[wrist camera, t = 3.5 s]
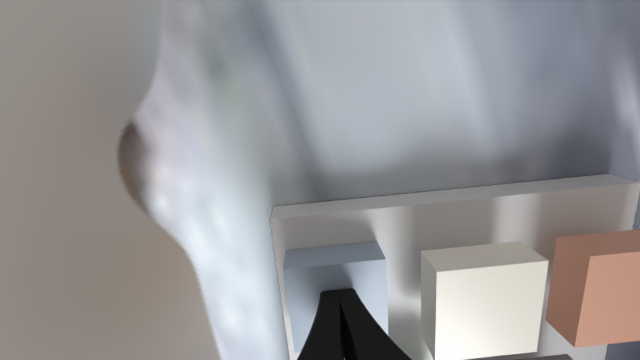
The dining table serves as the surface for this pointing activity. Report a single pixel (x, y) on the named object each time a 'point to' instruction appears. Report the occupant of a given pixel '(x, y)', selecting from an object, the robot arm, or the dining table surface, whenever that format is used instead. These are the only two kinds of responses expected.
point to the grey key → (549, 357)
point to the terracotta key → (596, 288)
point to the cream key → (482, 300)
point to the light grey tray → (458, 239)
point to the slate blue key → (333, 282)
